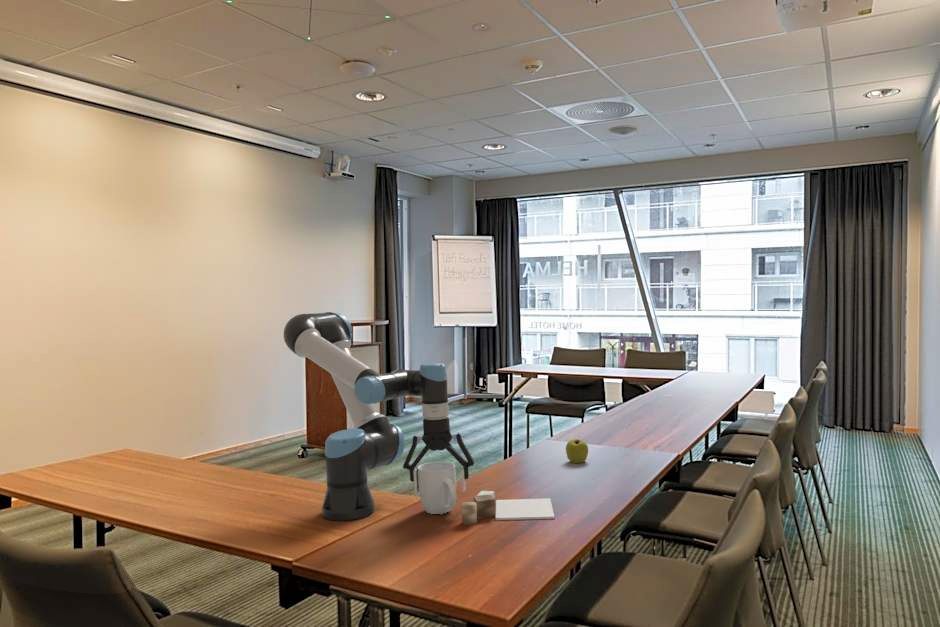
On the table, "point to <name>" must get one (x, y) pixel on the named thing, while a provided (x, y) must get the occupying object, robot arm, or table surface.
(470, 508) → the beech cylinder
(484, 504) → the walnut block
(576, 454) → the apple
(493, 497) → the sage block
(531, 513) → the pad
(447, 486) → the mug
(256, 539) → the table surface
